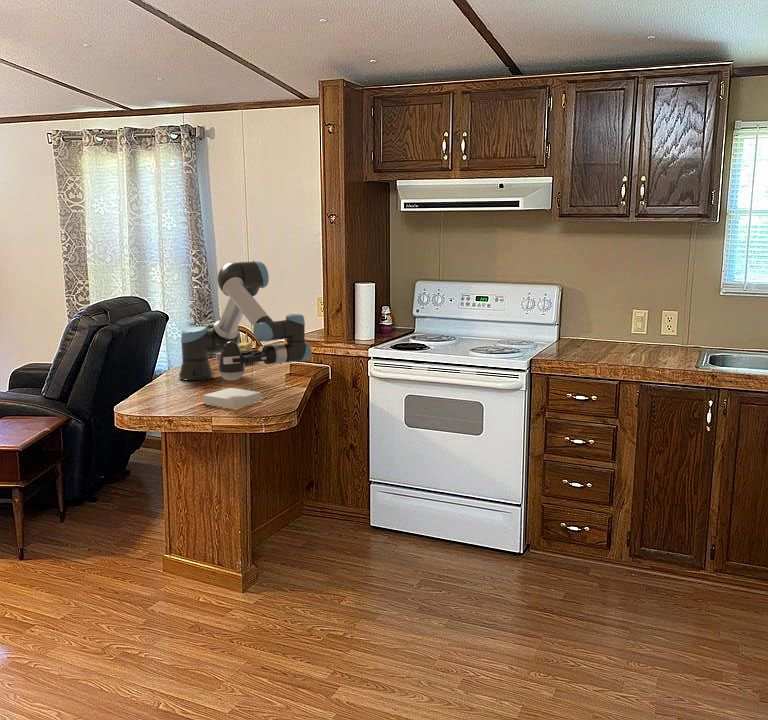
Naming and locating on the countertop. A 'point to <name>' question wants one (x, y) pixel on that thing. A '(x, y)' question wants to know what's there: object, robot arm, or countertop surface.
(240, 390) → the riser
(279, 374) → the countertop surface
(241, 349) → the cheese
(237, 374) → the dark brown rounded piece
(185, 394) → the countertop surface
